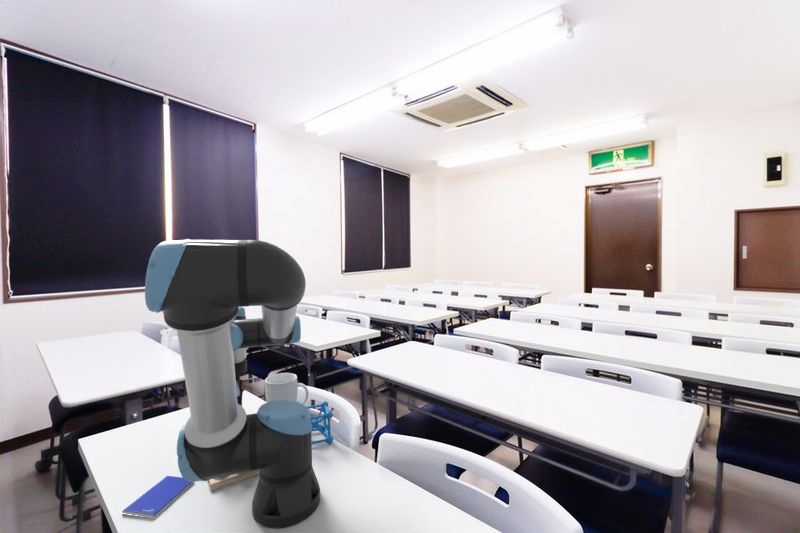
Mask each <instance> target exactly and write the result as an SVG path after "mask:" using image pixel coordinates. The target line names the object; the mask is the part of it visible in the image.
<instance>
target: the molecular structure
mask: <svg viewBox="0 0 800 533" xmlns="http://www.w3.org/2000/svg"><path fill="white" fill-rule="evenodd" d="M306 407H307V408H308V409H309V410H310V409H316V408H320V411H319V413H318V415H315V416H311V424H312V431H311V433H312V432H317V431H319V432H320V433H321V434H322V435H323V437H325V438H324V439H319V440H314V441H313V440H312V441H311V443H312V445H317V444H320V443H326V444H328V445H329V444H332V443H333V442H334V437H333V436H332V435H331V419H332V418H333V412H332V410H329V402H328V401H327V400H323V401H322V402H321V404H314V405H310V406H309V405H308V406H306ZM322 413H323V414H322ZM320 422H323V424H320Z"/></svg>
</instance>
